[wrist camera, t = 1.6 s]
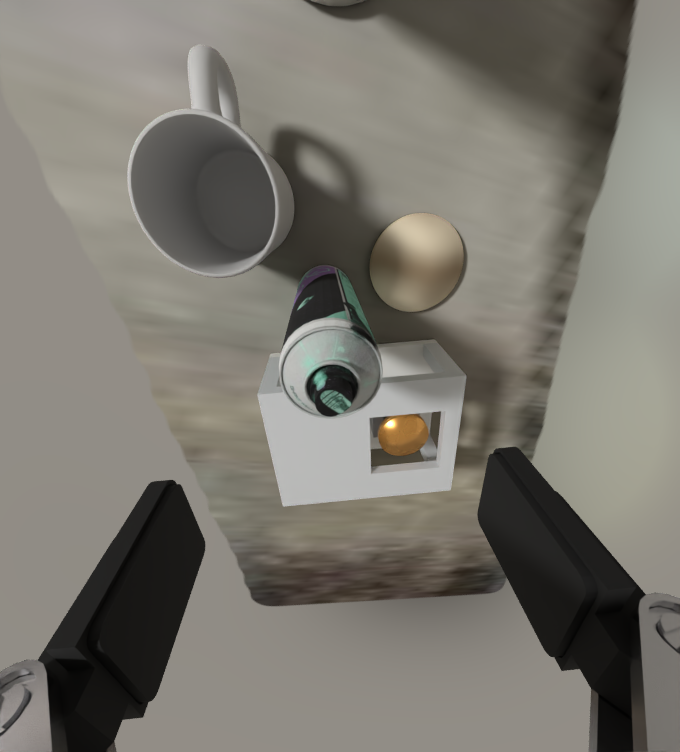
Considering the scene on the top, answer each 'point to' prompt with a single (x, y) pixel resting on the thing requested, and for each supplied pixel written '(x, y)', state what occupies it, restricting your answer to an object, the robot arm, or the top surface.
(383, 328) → the top surface
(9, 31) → the top surface
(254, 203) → the mug
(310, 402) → the spray can
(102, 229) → the top surface
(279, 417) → the white open box frame
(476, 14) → the top surface
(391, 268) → the coaster
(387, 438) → the button
